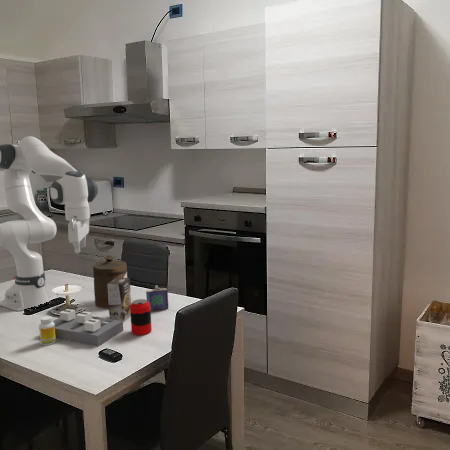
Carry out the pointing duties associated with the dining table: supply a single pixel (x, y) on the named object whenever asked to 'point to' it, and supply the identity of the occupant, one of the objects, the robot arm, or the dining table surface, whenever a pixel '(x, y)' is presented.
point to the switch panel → (80, 335)
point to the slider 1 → (67, 315)
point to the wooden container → (106, 278)
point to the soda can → (140, 317)
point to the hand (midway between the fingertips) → (80, 249)
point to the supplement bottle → (47, 331)
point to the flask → (157, 298)
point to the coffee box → (119, 299)
